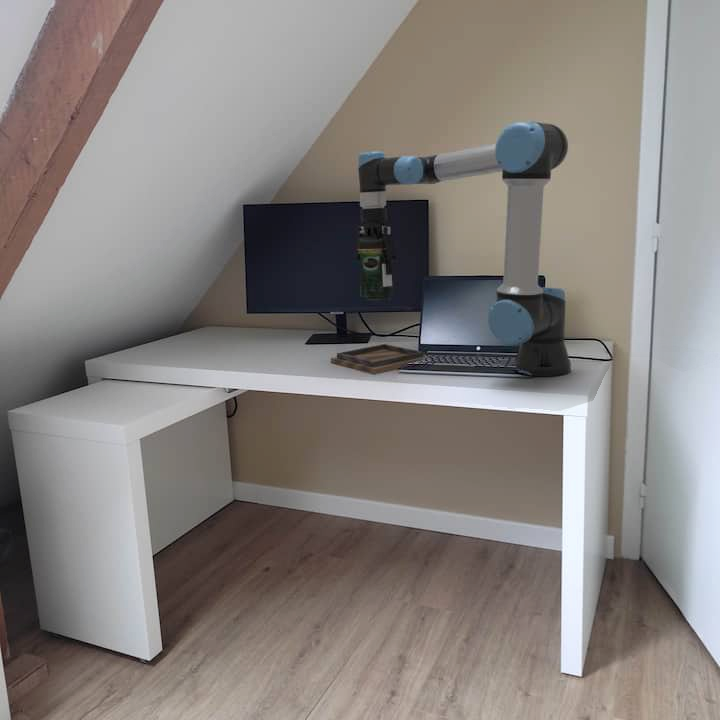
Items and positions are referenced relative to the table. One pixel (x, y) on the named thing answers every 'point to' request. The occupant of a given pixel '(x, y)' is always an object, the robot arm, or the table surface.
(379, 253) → the coffee jar
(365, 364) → the wooden tray
